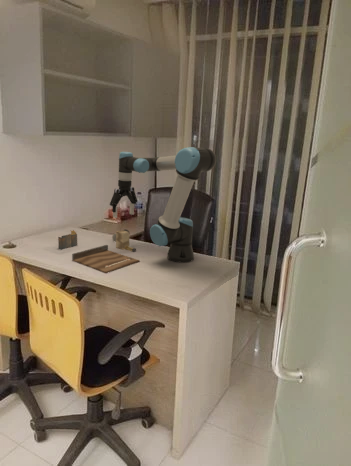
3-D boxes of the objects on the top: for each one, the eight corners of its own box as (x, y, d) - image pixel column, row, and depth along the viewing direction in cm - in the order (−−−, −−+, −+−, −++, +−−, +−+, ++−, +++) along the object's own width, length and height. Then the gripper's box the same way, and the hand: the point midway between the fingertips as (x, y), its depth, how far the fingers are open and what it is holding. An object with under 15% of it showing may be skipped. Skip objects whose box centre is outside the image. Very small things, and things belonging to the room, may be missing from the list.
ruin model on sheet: (74, 245, 220) (73, 229, 218) (77, 246, 218) (77, 230, 216) (58, 249, 211) (57, 233, 209) (61, 250, 209) (60, 234, 207)
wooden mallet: (137, 250, 214) (138, 234, 212) (131, 252, 211) (132, 235, 208) (122, 245, 222) (122, 230, 219) (116, 247, 218) (116, 231, 216)
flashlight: (122, 235, 245) (123, 228, 243) (130, 237, 243) (130, 229, 242) (112, 241, 231) (112, 233, 229) (119, 242, 229) (120, 234, 228)
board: (139, 261, 196) (139, 255, 195) (106, 273, 177) (106, 266, 176) (106, 251, 211) (106, 244, 210) (72, 260, 192) (72, 253, 191)
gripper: (135, 177, 218) (133, 211, 224) (103, 180, 199) (102, 217, 205) (144, 179, 214) (142, 214, 220) (113, 182, 195) (112, 220, 201)
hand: (123, 215), depth 213 cm, fingers open, 13 cm apart
